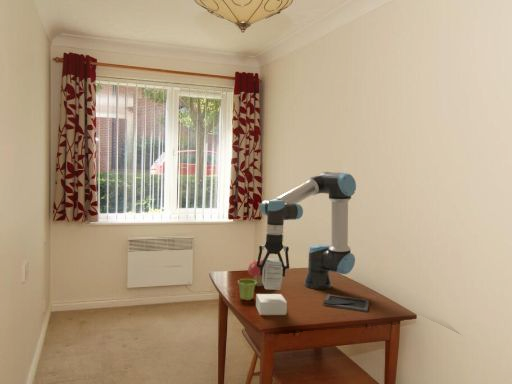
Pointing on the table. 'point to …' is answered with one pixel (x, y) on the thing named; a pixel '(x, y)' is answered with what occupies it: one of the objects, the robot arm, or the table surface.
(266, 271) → the supplement box
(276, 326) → the table surface
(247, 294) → the plant pot
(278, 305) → the plinth
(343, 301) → the picture frame
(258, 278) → the decorative mushroom
